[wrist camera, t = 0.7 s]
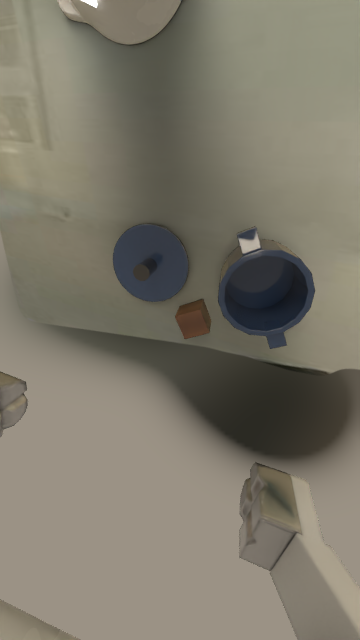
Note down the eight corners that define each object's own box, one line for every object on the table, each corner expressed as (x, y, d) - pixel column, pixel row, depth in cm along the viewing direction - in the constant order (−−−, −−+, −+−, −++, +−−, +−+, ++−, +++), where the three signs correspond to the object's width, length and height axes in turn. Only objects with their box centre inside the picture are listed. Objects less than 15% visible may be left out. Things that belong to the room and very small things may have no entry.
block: (179, 306, 45) (174, 316, 41) (203, 298, 44) (200, 309, 40) (188, 327, 47) (184, 339, 43) (211, 320, 45) (209, 332, 41)
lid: (135, 307, 47) (124, 321, 42) (102, 240, 42) (85, 246, 37) (200, 286, 43) (196, 298, 38) (171, 210, 38) (162, 212, 33)
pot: (237, 331, 45) (238, 358, 38) (205, 238, 39) (199, 248, 32) (307, 314, 42) (324, 340, 34) (285, 208, 35) (299, 211, 28)
